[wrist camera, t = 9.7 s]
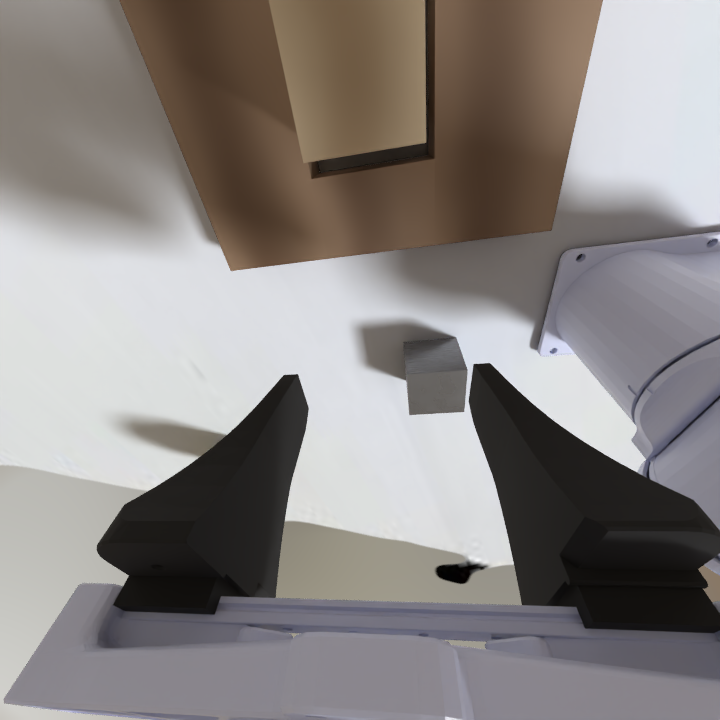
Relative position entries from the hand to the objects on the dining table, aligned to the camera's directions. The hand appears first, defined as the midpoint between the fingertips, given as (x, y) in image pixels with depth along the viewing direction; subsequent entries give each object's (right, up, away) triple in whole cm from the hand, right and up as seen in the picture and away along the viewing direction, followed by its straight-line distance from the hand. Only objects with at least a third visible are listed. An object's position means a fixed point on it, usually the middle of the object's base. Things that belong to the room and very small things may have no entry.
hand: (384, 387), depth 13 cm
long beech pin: (-1, +14, +2) cm, 14 cm away
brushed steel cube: (+5, +1, +12) cm, 13 cm away
